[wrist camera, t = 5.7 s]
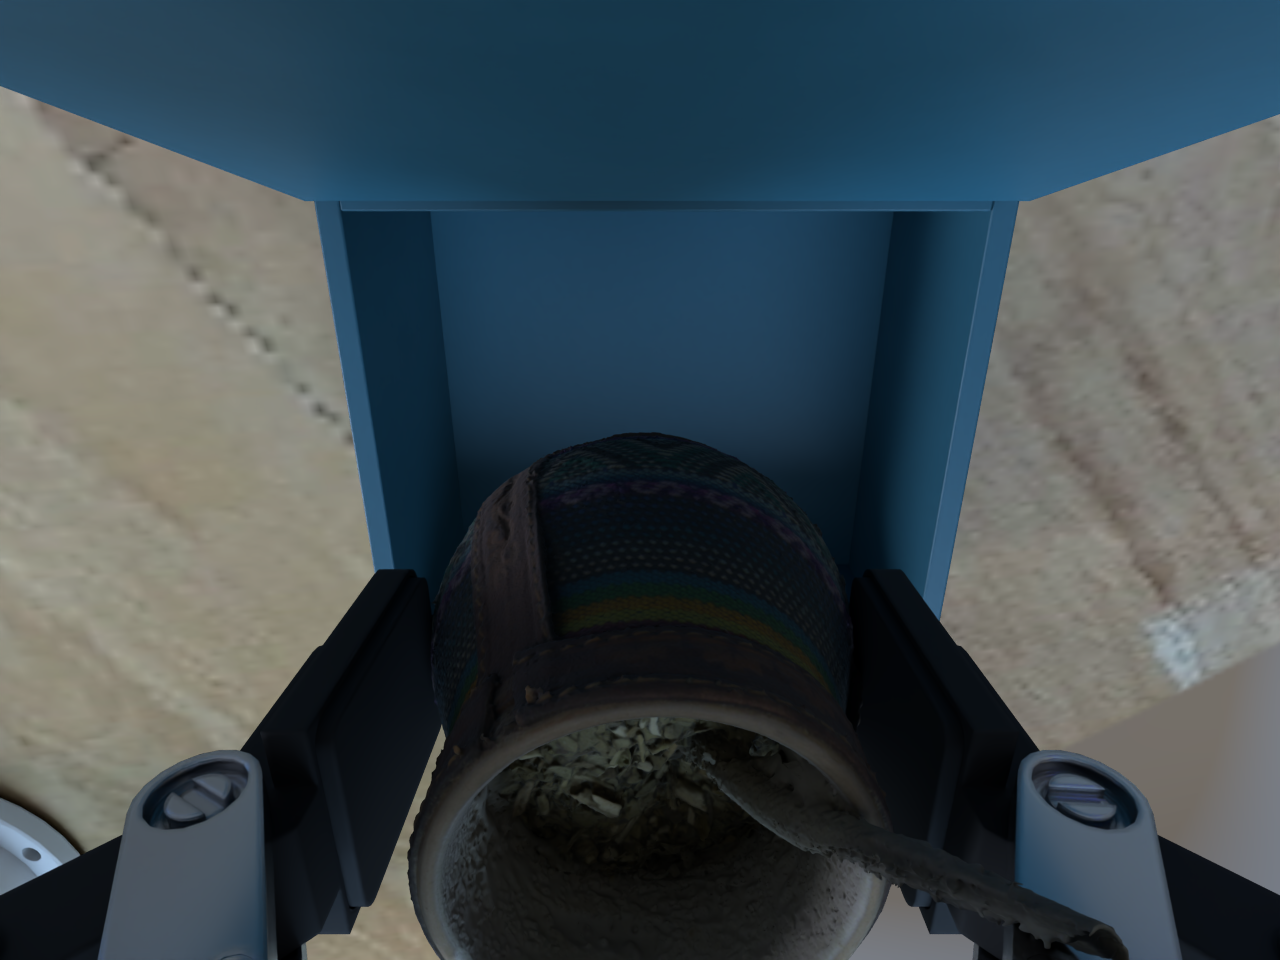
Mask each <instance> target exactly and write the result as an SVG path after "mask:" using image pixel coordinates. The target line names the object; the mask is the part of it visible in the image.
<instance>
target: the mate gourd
mask: <svg viewBox="0 0 1280 960" xmlns="http://www.w3.org/2000/svg"><path fill="white" fill-rule="evenodd" d="M477 512H478V514H477V516H476V518H475V519H474V521H473V523H472V524H471V525H470V526H469V530H468V532H467V534H466V535H465V537H464V539H463V541H462V542H461V543H460V545H459V546H458V547H457V550H456V552H455V553H454V555H453V557H452V558H451V560H450V563H449V565H448V567H447V568H446V572H445V574H444V578H443V580H442V582H441V585H440V590H439V592H438V594H437V596H436V598H435V600H434V601H433V602H431V603H433V604H435V609H434V614H433V615H432V634H431V650H430V652H431V654H430V655H431V668H432V669H431V679H432V687H433V690H434V698H435V700H434V702H435V704H436V705H437V707H438V710H439V711H438V713H439V714H440V719H441V723H442V726H443V730H444V733H445V737H446V740H445V743H444V749H443V750H442V749H441V753H440V755H439V756H438V757H437V761H436V769H435V770H434V771H433V772H432V781H431V784H430V786H429V788H428V790H427V794H426V798H425V799H424V800H423V801H422V803H421V806H420V812H419V813H418V814H417V815H416V817H415V821H414V832H413V833H412V834H411V836H410V840H409V842H410V849H409V851H408V856H407V859H408V861H409V869H408V872H407V874H408V878H409V887H410V894H411V900H412V901H413V904H414V910H415V914H416V916H417V919H418V921H419V923H420V925H421V927H422V930H423V932H424V935H425V936H426V938H427V940H428V942H429V943H430V945H431V947H432V948H433V950H434V951H435V953H436V955H437V956H438V957H439V958H440V959H441V960H848V959H849V958H850V957H851V956H852V955H853V953H854V952H855V950H856V949H857V948H858V947H859V945H860V944H861V943H862V941H863V940H864V939H865V937H866V936H867V935H868V933H869V932H870V930H871V928H872V927H873V925H874V923H875V922H876V920H877V918H878V916H879V915H880V913H881V912H882V909H883V907H884V904H885V902H886V899H887V896H888V893H889V889H890V887H891V885H892V884H895V886H897V885H898V887H902V885H903V884H904V883H905V884H907V885H908V886H910V887H911V888H914V889H918V890H920V891H924V892H927V893H929V894H930V895H931V897H932V898H933V900H934V901H935V902H937V903H940V902H943V903H945V904H951V905H953V906H954V907H956V908H958V909H960V910H963V909H964V910H969V911H974V912H978V913H979V915H980V916H981V917H982V918H983V917H985V918H986V919H987V920H988V921H990V922H994V923H997V925H1000V924H1001V921H1002V920H1004V921H1005V923H1003V924H1002V926H1009V925H1011V924H1013V923H1020V926H1019V929H1020V930H1021V931H1024V932H1028V933H1031V934H1033V935H1034V937H1035V939H1042V940H1043V942H1044V947H1045V948H1046V949H1050V947H1051V943H1052V942H1054V941H1057V942H1061V943H1063V944H1066V945H1069V946H1072V947H1073V948H1074V949H1075V950H1077V951H1081V952H1084V953H1086V954H1090V955H1095V956H1099V957H1102V958H1106V959H1112V960H1129V952H1128V949H1127V948H1126V947H1125V946H1124V945H1123V943H1122V940H1121V939H1120V937H1119V936H1118V935H1117V934H1116V932H1115V930H1114V928H1113V927H1111V926H1109V925H1107V924H1105V923H1103V922H1101V921H1098V920H1096V919H1093V918H1091V917H1088V916H1086V915H1083V914H1081V913H1079V912H1076V911H1074V910H1072V909H1070V908H1069V907H1066V906H1064V905H1062V904H1059V903H1057V902H1055V901H1053V900H1051V899H1048V898H1046V897H1043V896H1041V895H1038V894H1036V893H1035V892H1033V891H1032V890H1030V889H1027V888H1023V887H1021V886H1019V885H1023V884H1021V883H1018V882H1013V883H1012V882H1011V881H1009V880H1007V879H1005V878H1003V877H1002V876H1000V875H998V874H996V873H994V872H992V871H988V870H984V867H983V866H982V865H981V864H968V863H966V862H964V861H963V860H961V859H960V858H958V857H956V856H953V855H951V854H949V853H948V852H946V851H945V850H942V849H934V848H933V847H932V846H931V845H930V843H928V842H927V841H923V840H918V839H913V838H910V837H907V836H905V835H903V834H895V833H894V831H893V823H892V820H891V814H890V810H889V808H888V806H887V804H886V800H885V797H886V792H885V791H883V790H882V789H881V787H880V785H879V783H878V782H877V780H876V777H875V775H876V772H873V771H872V770H871V767H870V764H868V762H867V759H866V757H865V754H864V751H863V747H862V745H861V743H860V741H859V739H858V734H857V727H858V725H859V724H860V720H861V719H860V708H861V706H862V704H863V699H862V698H861V695H862V691H863V686H862V676H861V674H860V671H859V669H858V667H857V665H856V663H855V660H854V657H853V653H854V648H855V647H854V643H853V638H854V636H853V624H852V621H851V617H850V613H849V603H848V598H847V594H846V591H845V586H846V584H845V581H846V580H845V578H844V577H843V575H842V574H840V573H839V571H838V567H837V566H836V564H835V558H834V557H832V556H831V553H830V551H829V549H828V547H827V546H826V544H825V542H824V541H823V539H822V532H821V530H820V528H819V527H818V525H817V524H812V522H811V521H810V520H809V518H808V516H807V514H806V512H804V511H803V510H802V509H801V508H800V507H799V506H798V505H797V504H796V503H795V502H794V501H793V498H792V497H789V496H788V495H787V492H785V491H783V489H781V488H780V487H778V486H777V485H776V484H775V483H774V481H773V480H770V479H769V478H768V477H766V476H764V475H763V474H761V473H759V472H758V471H757V470H756V469H755V468H752V467H750V466H748V465H747V464H745V463H744V462H742V461H740V460H739V459H738V458H737V457H734V456H731V455H728V454H725V453H723V452H720V451H718V450H717V449H715V448H712V447H710V446H707V445H706V444H703V443H700V442H696V441H692V440H690V439H686V438H683V437H679V436H673V435H666V434H662V433H658V432H651V433H645V432H639V433H632V432H629V433H622V434H614V435H612V436H611V437H607V438H602V439H599V440H595V441H590V442H586V443H583V444H577V445H574V446H570V447H567V448H565V449H563V448H562V449H561V450H557V451H555V452H553V453H552V454H548V455H546V456H545V457H544V458H540V459H539V460H537V461H536V462H534V463H533V464H532V465H531V466H530V467H528V468H527V469H525V470H524V471H522V472H520V473H519V474H517V475H514V476H513V477H511V478H510V479H508V480H507V481H506V482H504V483H503V484H502V485H501V486H500V487H499V488H498V489H496V490H495V491H494V492H493V493H492V494H491V495H490V496H489V497H488V498H487V499H486V500H485V501H484V502H483V503H482V506H481V508H480V509H479V511H477ZM880 783H881V782H880ZM1018 884H1019V885H1018Z"/></svg>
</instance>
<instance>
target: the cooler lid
mask: <svg viewBox="0 0 1280 960" xmlns="http://www.w3.org/2000/svg"><path fill="white" fill-rule="evenodd" d="M0 86H2V87H5V88H7V89H10V90H12V91H15V92H18V93H20V94H23V95H26V96H28V97H31V98H34V99H36V100H39V101H42V102H44V103H47V104H50V105H52V106H55V107H57V108H60V109H63V110H65V111H68V112H71V113H73V114H76V115H79V116H81V117H84V118H87V119H89V120H92V121H95V122H97V123H100V124H102V125H105V126H108V127H110V128H113V129H116V130H118V131H121V132H124V133H126V134H129V135H132V136H134V137H137V138H140V139H142V140H145V141H147V142H150V143H153V144H155V145H158V146H161V147H163V148H166V149H169V150H171V151H174V152H177V153H179V154H182V155H185V156H187V157H190V158H192V159H195V160H198V161H200V162H203V163H206V164H208V165H211V166H214V167H216V168H219V169H222V170H224V171H227V172H230V173H232V174H235V175H237V176H240V177H243V178H245V179H248V180H251V181H253V182H256V183H259V184H261V185H264V186H267V187H269V188H272V189H274V190H277V191H280V192H282V193H285V194H288V195H290V196H293V197H296V198H298V199H301V200H304V201H1031V200H1034V199H1037V198H1040V197H1042V196H1045V195H1048V194H1051V193H1054V192H1057V191H1060V190H1063V189H1065V188H1068V187H1071V186H1074V185H1077V184H1080V183H1083V182H1086V181H1088V180H1091V179H1094V178H1097V177H1100V176H1103V175H1106V174H1109V173H1111V172H1114V171H1117V170H1120V169H1123V168H1126V167H1129V166H1132V165H1135V164H1137V163H1140V162H1143V161H1146V160H1149V159H1152V158H1155V157H1158V156H1160V155H1163V154H1166V153H1169V152H1172V151H1175V150H1178V149H1181V148H1183V147H1186V146H1189V145H1192V144H1195V143H1198V142H1201V141H1204V140H1206V139H1209V138H1212V137H1215V136H1218V135H1221V134H1224V133H1227V132H1229V131H1232V130H1235V129H1238V128H1241V127H1244V126H1247V125H1250V124H1252V123H1255V122H1258V121H1261V120H1264V119H1267V118H1270V117H1273V116H1275V115H1278V114H1280V0H0Z"/></svg>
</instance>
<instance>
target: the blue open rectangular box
mask: <svg viewBox="0 0 1280 960" xmlns="http://www.w3.org/2000/svg"><path fill="white" fill-rule="evenodd" d="M314 203H315V209H316V215H317V221H318V227H319V233H320V239H321V246H322V252H323V258H324V264H325V270H326V276H327V282H328V289H329V295H330V301H331V307H332V313H333V319H334V325H335V331H336V338H337V344H338V350H339V356H340V362H341V368H342V374H343V381H344V387H345V393H346V399H347V405H348V411H349V417H350V423H351V430H352V436H353V442H354V448H355V454H356V460H357V466H358V473H359V479H360V485H361V491H362V497H363V503H364V509H365V515H366V522H367V528H368V534H369V540H370V546H371V552H372V558H373V565H374V571H375V573H376V572H377V571H378V570H379V569H413V570H414V571H415V572H416V575H417V577H424V578H426V580H427V583H428V589H429V597H430V605H431V613H432V615H433V614H434V609H435V604H433V603H431V602H433V601H434V600H435V598H436V596H437V594H438V592H439V590H440V585H441V582H442V580H443V578H444V574H445V572H446V568H447V567H448V565H449V563H450V560H451V558H452V557H453V555H454V553H455V552H456V550H457V547H458V546H459V545H460V543H461V542H462V541H463V539H464V537H465V535H466V534H467V532H468V530H469V526H470V525H471V524H472V523H473V521H474V519H475V518H476V516H477V514H478V512H477V511H479V509H480V508H481V506H482V503H483V502H484V501H485V500H486V499H487V498H488V497H489V496H490V495H491V494H492V493H493V492H494V491H495V490H496V489H498V488H499V487H500V486H501V485H502V484H503V483H504V482H506V481H507V480H508V479H510V478H511V477H513V476H514V475H517V474H519V473H520V472H522V471H524V470H525V469H527V468H528V467H530V466H531V465H532V464H533V463H534V462H536V461H537V460H539V459H540V458H544V457H545V456H546V455H548V454H552V453H553V452H555V451H557V450H561V449H562V448H563V449H565V448H567V447H570V446H574V445H577V444H583V443H586V442H590V441H595V440H599V439H602V438H607V437H611V436H612V435H614V434H622V433H629V432H632V433H639V432H645V433H651V432H658V433H662V434H666V435H673V436H679V437H683V438H686V439H690V440H692V441H696V442H700V443H703V444H706V445H707V446H710V447H712V448H715V449H717V450H718V451H720V452H723V453H725V454H728V455H731V456H734V457H737V458H738V459H739V460H740V461H742V462H744V463H745V464H747V465H748V466H750V467H752V468H755V469H756V470H757V471H758V472H759V473H761V474H763V475H764V476H766V477H768V478H769V479H770V480H773V481H774V483H775V484H776V485H777V486H778V487H780V488H781V489H783V491H785V492H787V495H788V496H789V497H792V498H793V501H794V502H795V503H796V504H797V505H798V506H799V507H800V508H801V509H802V510H803V511H804V512H806V514H807V516H808V518H809V520H810V521H811V522H812V524H817V525H818V527H819V528H820V530H821V532H822V539H823V541H824V542H825V544H826V546H827V547H828V549H829V551H830V553H831V556H832V557H834V558H835V564H836V566H837V567H838V571H839V573H840V574H842V575H843V577H844V578H845V580H846V581H845V584H846V586H845V591H846V594H847V598H848V603H849V602H850V594H851V586H852V582H853V579H854V578H855V577H863V574H864V571H865V570H866V569H901V570H902V571H903V572H904V573H905V575H906V576H907V577H908V579H909V580H910V581H911V583H912V584H913V586H914V587H915V588H916V590H917V591H918V592H919V594H920V595H921V597H922V598H923V599H924V601H925V602H926V603H927V605H928V606H929V608H930V609H931V610H932V612H933V613H934V615H935V616H936V617H937V619H938V620H939V621H940V616H941V611H942V606H943V600H944V595H945V590H946V584H947V579H948V574H949V569H950V563H951V558H952V553H953V547H954V542H955V537H956V532H957V526H958V521H959V516H960V511H961V505H962V500H963V495H964V489H965V484H966V479H967V474H968V468H969V463H970V458H971V453H972V447H973V442H974V437H975V431H976V426H977V421H978V416H979V410H980V405H981V400H982V394H983V389H984V384H985V379H986V373H987V368H988V363H989V358H990V352H991V347H992V342H993V336H994V331H995V326H996V321H997V315H998V310H999V305H1000V300H1001V294H1002V289H1003V284H1004V278H1005V273H1006V268H1007V263H1008V257H1009V252H1010V247H1011V242H1012V236H1013V231H1014V226H1015V220H1016V215H1017V210H1018V205H1019V201H314Z"/></svg>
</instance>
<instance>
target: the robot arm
mask: <svg viewBox="0 0 1280 960" xmlns="http://www.w3.org/2000/svg"><path fill="white" fill-rule="evenodd" d="M849 613H850V617H851V621H852V624H853V636H854V638H853V643H854V647H855V648H854V653H853V657H854V660H855V663H856V665H857V667H858V669H859V671H860V674H861V676H862V686H863V691H862V695H861V698H862V699H863V704H862V706H861V708H860V719H861V720H860V724H859V725H858V727H857V734H858V739H859V741H860V743H861V745H862V747H863V751H864V754H865V757H866V759H867V762H868V764H870V767H871V770H872V771H873V772H876V775H875V777H876V780H877V782H878V783H879V785H880V787H881V789H882V790H883V791H885V792H886V797H885V800H886V804H887V806H888V808H889V810H890V814H891V820H892V823H893V831H894V833H895V834H903V835H905V836H907V837H910V838H913V839H918V840H923V841H927V842H928V843H930V845H931V846H932V847H933V848H934V849H942V850H945V851H946V852H948V853H949V854H951V855H953V856H956V857H958V858H960V859H961V860H963V861H964V862H966V863H968V864H981V865H982V866H983V867H984V870H988V871H992V872H994V873H996V874H998V875H1000V876H1002V877H1003V878H1005V879H1007V880H1009V881H1011V882H1012V883H1013V882H1018V883H1021V884H1023V885H1019V884H1018V885H1019V886H1021V887H1023V888H1027V889H1030V890H1032V891H1033V892H1035V893H1036V894H1038V895H1041V896H1043V897H1046V898H1048V899H1051V900H1053V901H1055V902H1057V903H1059V904H1062V905H1064V906H1066V907H1069V908H1070V909H1072V910H1074V911H1076V912H1079V913H1081V914H1083V915H1086V916H1088V917H1091V918H1093V919H1096V920H1098V921H1101V922H1103V923H1105V924H1107V925H1109V926H1111V927H1113V928H1114V930H1115V932H1116V934H1117V935H1118V936H1119V937H1120V939H1121V940H1122V943H1123V945H1124V946H1125V947H1126V948H1127V949H1128V952H1129V960H1280V895H1278V894H1276V893H1274V892H1272V891H1270V890H1268V889H1266V888H1264V887H1262V886H1260V885H1258V884H1256V883H1254V882H1252V881H1250V880H1248V879H1246V878H1244V877H1242V876H1240V875H1238V874H1236V873H1234V872H1232V871H1230V870H1228V869H1226V868H1223V867H1222V866H1219V865H1217V864H1215V863H1213V862H1211V861H1209V860H1207V859H1205V858H1203V857H1201V856H1199V855H1197V854H1195V853H1193V852H1191V851H1189V850H1187V849H1185V848H1183V847H1181V846H1179V845H1177V844H1175V843H1173V842H1171V841H1169V840H1167V839H1165V838H1163V837H1161V836H1159V835H1157V830H1156V825H1155V820H1154V815H1153V812H1152V809H1151V807H1150V805H1149V803H1148V800H1147V799H1146V798H1145V796H1144V795H1143V794H1142V793H1141V792H1140V790H1139V789H1138V788H1137V787H1136V786H1135V785H1134V784H1133V783H1132V782H1130V781H1129V780H1128V779H1127V778H1125V777H1124V776H1123V775H1122V774H1120V773H1119V772H1117V771H1116V770H1114V769H1112V768H1110V767H1108V766H1107V765H1105V764H1103V763H1101V762H1099V761H1097V760H1094V759H1091V758H1089V757H1086V756H1084V755H1081V754H1077V753H1072V752H1067V751H1062V750H1042V751H1040V750H1039V749H1038V748H1037V746H1036V745H1035V744H1034V742H1033V741H1032V740H1031V738H1030V737H1029V736H1028V734H1027V733H1026V731H1025V730H1024V729H1023V727H1022V726H1021V725H1020V723H1019V722H1018V721H1017V719H1016V718H1015V717H1014V715H1013V714H1012V713H1011V711H1010V710H1009V708H1008V707H1007V706H1006V704H1005V703H1004V702H1003V700H1002V699H1001V698H1000V696H999V695H998V694H997V692H996V691H995V689H994V688H993V687H992V685H991V684H990V683H989V681H988V680H987V679H986V677H985V676H984V675H983V673H982V672H981V670H980V669H979V668H978V666H977V665H976V664H975V662H974V661H973V660H972V658H971V657H970V656H969V654H968V653H967V652H966V651H965V650H964V649H963V648H962V647H961V646H958V645H956V643H955V642H954V641H953V639H952V638H951V637H950V635H949V634H948V632H947V631H946V630H945V628H944V627H943V626H942V624H941V623H940V621H939V620H938V619H937V617H936V616H935V615H934V613H933V612H932V610H931V609H930V608H929V606H928V605H927V603H926V602H925V601H924V599H923V598H922V597H921V595H920V594H919V592H918V591H917V590H916V588H915V587H914V586H913V584H912V583H911V581H910V580H909V579H908V577H907V576H906V575H905V573H904V572H903V571H902V570H901V569H866V570H865V571H864V574H863V577H855V578H854V579H853V582H852V586H851V594H850V602H849ZM431 634H432V613H431V605H430V597H429V589H428V583H427V580H426V578H424V577H417V575H416V572H415V571H414V570H413V569H379V570H378V571H377V572H376V573H375V574H374V575H373V577H372V578H371V580H370V581H369V582H368V584H367V585H366V586H365V588H364V589H363V591H362V592H361V593H360V595H359V596H358V598H357V599H356V600H355V602H354V603H353V604H352V606H351V607H350V609H349V610H348V611H347V613H346V614H345V615H344V617H343V618H342V620H341V621H340V622H339V624H338V625H337V626H336V628H335V629H334V631H333V632H332V633H331V635H330V636H329V637H328V639H327V640H326V642H325V643H324V644H323V645H322V646H319V647H317V648H316V649H315V650H314V651H313V652H312V654H311V655H310V656H309V658H308V659H307V661H306V662H305V663H304V665H303V666H302V667H301V669H300V670H299V671H298V673H297V674H296V675H295V677H294V678H293V680H292V681H291V682H290V684H289V685H288V686H287V688H286V689H285V690H284V692H283V693H282V694H281V696H280V697H279V699H278V700H277V701H276V703H275V704H274V705H273V707H272V708H271V709H270V711H269V712H268V713H267V715H266V716H265V717H264V719H263V720H262V722H261V723H260V724H259V726H258V727H257V728H256V730H255V731H254V732H253V734H252V735H251V736H250V738H249V739H248V741H247V742H246V743H245V745H244V746H243V747H242V749H241V750H240V751H238V750H218V751H213V752H208V753H203V754H199V755H196V756H194V757H191V758H189V759H186V760H183V761H181V762H179V763H177V764H175V765H173V766H172V767H170V768H168V769H166V770H164V771H163V772H161V773H160V774H158V775H157V776H156V777H155V778H153V779H152V780H151V781H150V782H148V783H147V784H146V785H145V786H144V787H143V788H142V789H141V790H140V792H139V793H138V794H137V795H136V796H135V798H134V799H133V800H132V803H131V805H130V807H129V809H128V812H127V815H126V820H125V825H124V830H123V835H121V836H119V837H117V838H115V839H113V840H111V841H109V842H107V843H105V844H103V845H101V846H99V847H97V848H95V849H93V850H91V851H89V852H87V853H85V854H82V855H80V854H79V852H78V851H77V850H76V849H75V848H74V847H73V846H72V845H71V844H70V843H69V842H68V841H67V840H66V839H65V837H64V836H63V835H61V834H60V833H59V832H58V831H56V830H55V829H54V828H52V827H51V826H50V825H49V824H47V823H46V822H45V821H44V820H42V819H40V818H39V817H37V816H35V815H34V814H32V813H30V812H29V811H27V810H25V809H24V808H22V807H20V806H18V805H16V804H14V803H11V802H9V801H7V800H5V799H2V798H0V960H307V949H306V942H307V941H309V940H310V939H311V938H313V937H314V936H316V935H317V934H350V933H351V930H352V928H353V925H354V923H355V920H356V918H357V915H358V913H359V910H360V908H361V907H369V906H371V905H372V903H373V902H374V900H375V898H376V895H377V893H378V890H379V888H380V885H381V882H382V880H383V877H384V875H385V872H386V869H387V867H388V864H389V862H390V859H391V856H392V854H393V851H394V848H395V846H396V843H397V841H398V838H399V835H400V833H401V830H402V828H403V825H404V822H405V820H406V817H407V815H408V812H409V809H410V807H411V804H412V801H413V799H414V796H415V794H416V791H417V788H418V786H419V783H420V781H421V778H422V775H423V773H424V770H425V768H426V765H427V762H428V760H429V757H430V754H431V752H432V749H433V747H434V744H435V741H436V739H437V736H438V734H439V731H440V728H441V725H442V723H441V719H440V714H439V713H438V711H439V710H438V707H437V705H436V704H435V702H434V700H435V698H434V690H433V687H432V679H431V669H432V668H431V655H430V654H431V652H430V650H431ZM880 782H881V783H880ZM900 888H901V891H902V894H903V896H904V898H905V900H906V902H907V904H908V905H909V906H911V907H919V908H920V911H921V913H922V916H923V918H924V921H925V923H926V926H927V928H928V931H929V933H930V934H963V935H964V936H965V937H967V938H968V939H970V940H971V941H973V942H974V949H973V960H1112V959H1106V958H1102V957H1099V956H1095V955H1090V954H1086V953H1084V952H1081V951H1077V950H1075V949H1074V948H1073V947H1072V946H1069V945H1066V944H1063V943H1061V942H1057V941H1054V942H1052V943H1051V947H1050V949H1046V948H1045V947H1044V942H1043V940H1042V939H1035V937H1034V935H1033V934H1031V933H1028V932H1024V931H1021V930H1020V929H1019V926H1020V923H1013V924H1011V925H1009V926H1002V924H1003V923H1005V921H1004V920H1002V921H1001V924H1000V925H997V923H994V922H990V921H988V920H987V919H986V918H985V917H983V918H982V917H981V916H980V915H979V913H978V912H974V911H969V910H964V909H963V910H960V909H958V908H956V907H954V906H953V905H951V904H945V903H943V902H940V903H937V902H935V901H934V900H933V898H932V897H931V895H930V894H929V893H927V892H924V891H920V890H918V889H914V888H911V887H910V886H908V885H907V884H905V883H904V884H903V885H902V887H900Z"/></svg>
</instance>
